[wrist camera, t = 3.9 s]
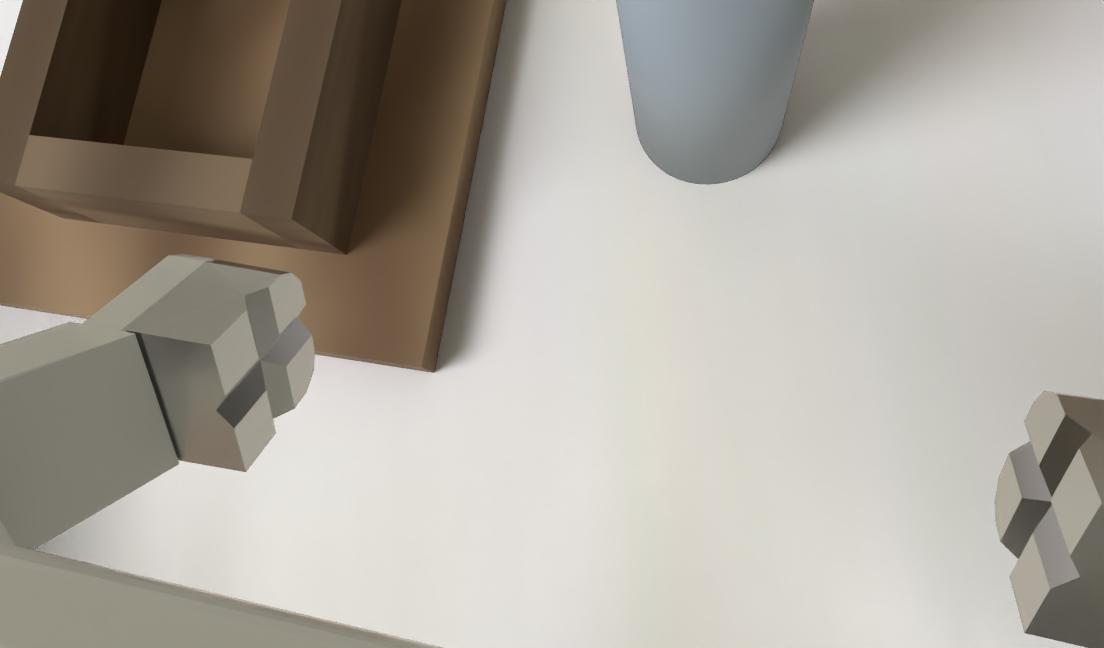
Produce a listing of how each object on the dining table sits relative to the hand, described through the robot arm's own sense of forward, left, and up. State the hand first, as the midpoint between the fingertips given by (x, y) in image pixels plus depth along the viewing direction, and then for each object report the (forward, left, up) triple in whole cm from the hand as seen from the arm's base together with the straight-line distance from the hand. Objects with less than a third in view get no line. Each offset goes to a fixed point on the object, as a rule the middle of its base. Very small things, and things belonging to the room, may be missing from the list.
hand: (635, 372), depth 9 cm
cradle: (+15, -9, -14) cm, 23 cm away
